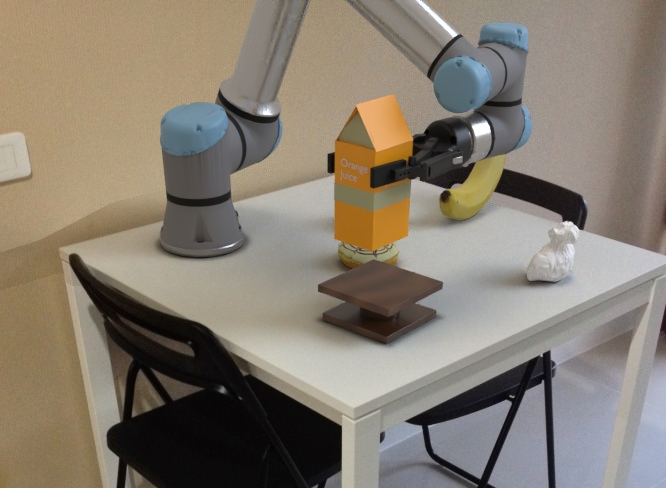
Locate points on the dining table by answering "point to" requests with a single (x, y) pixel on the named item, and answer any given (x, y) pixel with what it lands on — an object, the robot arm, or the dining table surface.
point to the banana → (473, 189)
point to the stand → (379, 300)
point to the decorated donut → (366, 254)
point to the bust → (555, 254)
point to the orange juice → (354, 176)
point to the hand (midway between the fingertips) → (350, 170)
